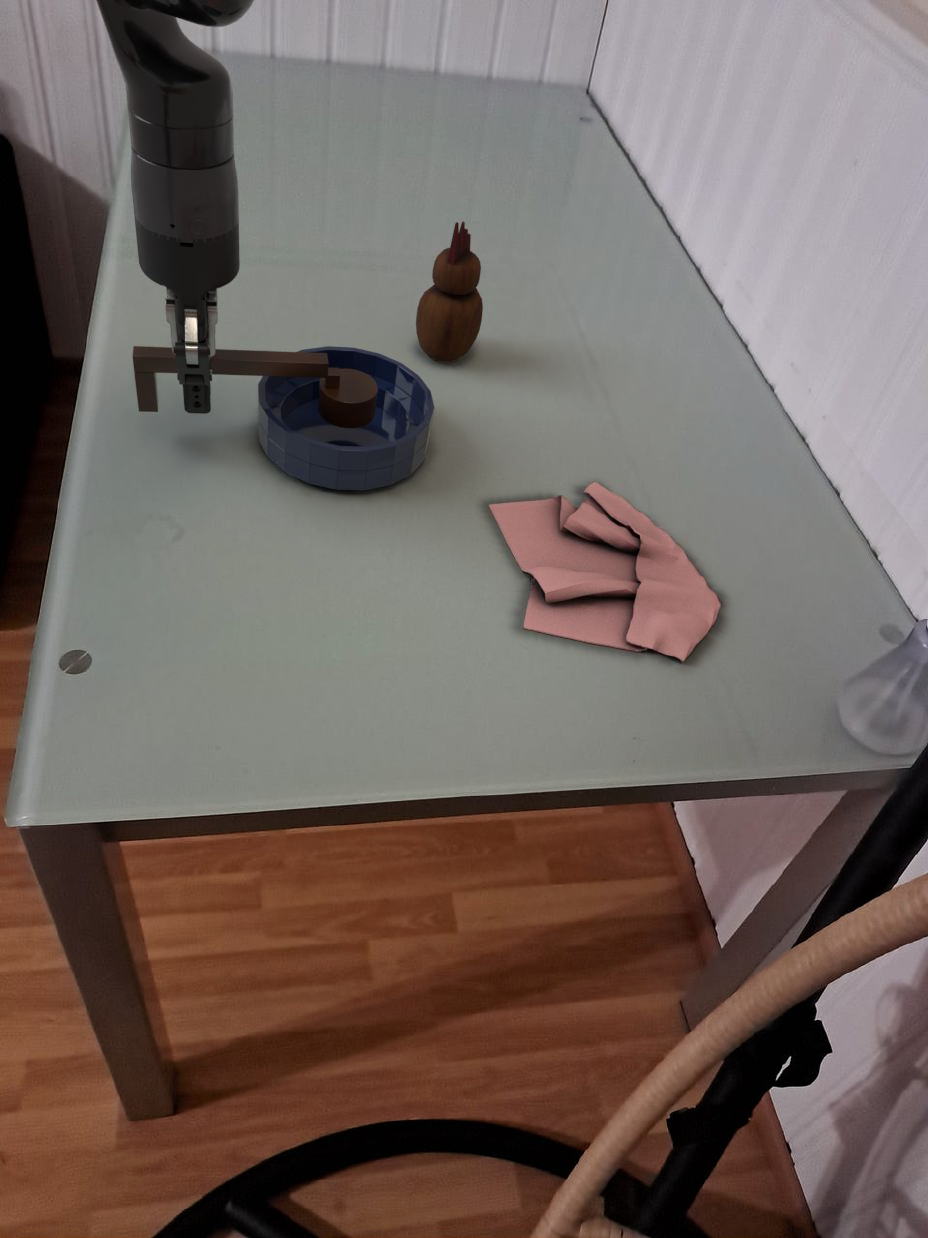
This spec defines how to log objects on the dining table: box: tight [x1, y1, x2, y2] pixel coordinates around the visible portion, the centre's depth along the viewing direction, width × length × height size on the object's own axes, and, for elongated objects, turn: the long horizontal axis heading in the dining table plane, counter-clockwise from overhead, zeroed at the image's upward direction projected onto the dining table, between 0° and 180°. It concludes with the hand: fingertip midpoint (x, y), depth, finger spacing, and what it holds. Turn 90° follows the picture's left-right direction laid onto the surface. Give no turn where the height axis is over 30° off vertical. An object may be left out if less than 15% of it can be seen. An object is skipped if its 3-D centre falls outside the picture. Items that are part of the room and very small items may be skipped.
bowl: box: [257, 345, 435, 491], centre depth 87 cm, size 16×16×5 cm
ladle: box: [132, 345, 378, 428], centre depth 83 cm, size 21×5×6 cm, turn 100°
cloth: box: [488, 481, 722, 663], centre depth 82 cm, size 20×22×2 cm
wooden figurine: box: [415, 221, 484, 363], centre depth 96 cm, size 7×6×15 cm
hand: (197, 402), depth 83 cm, fingers closed on ladle
